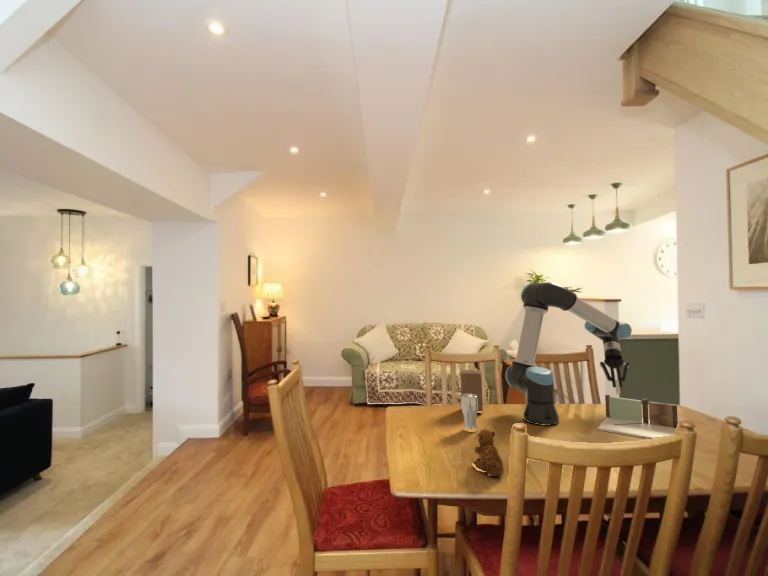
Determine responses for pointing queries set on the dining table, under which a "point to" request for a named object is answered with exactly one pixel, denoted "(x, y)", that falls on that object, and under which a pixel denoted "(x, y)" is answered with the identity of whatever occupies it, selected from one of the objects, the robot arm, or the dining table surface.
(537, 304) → the robot arm
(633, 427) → the card
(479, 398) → the wooden block
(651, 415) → the fixed fence
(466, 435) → the dining table surface
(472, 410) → the beer glass
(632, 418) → the green fence panel
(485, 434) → the brown plush animal
